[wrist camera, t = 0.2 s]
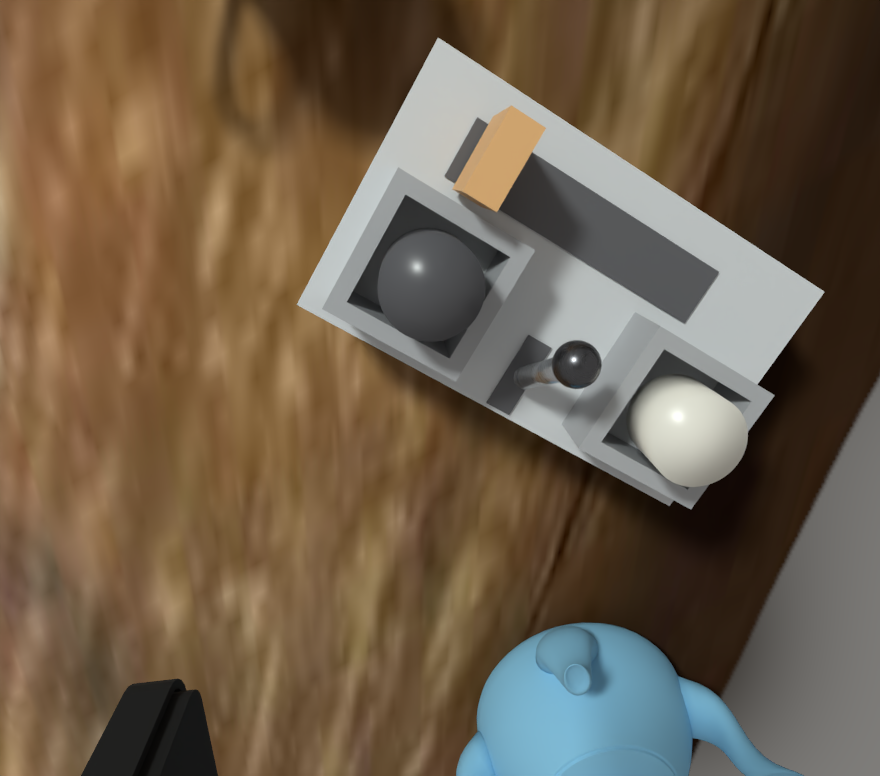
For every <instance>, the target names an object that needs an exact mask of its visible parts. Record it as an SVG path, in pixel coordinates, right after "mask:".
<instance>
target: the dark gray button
mask: <svg viewBox="0 0 880 776" xmlns="http://www.w3.org/2000/svg"><path fill="white" fill-rule="evenodd" d="M377 290H378V298H379V303H380V306H381V309H382V311H383V313H384V315H385V316H386V318H387V319H388V321H389V322H390V323H391V324H392V325H393V326H394V327H395V328H396V329H397V330H398V331H399V332H401V333H402V334H404V335H406V336H408V337H410V338H413V339H416V340H419V341H425V342H436V341H443V340H447V339H450V338H452V337H454V336H456V335H458V334H460V333H461V332H463V331H464V330H465V329H467V328H468V327H469V326H470V325H471V324H472V323H473V321H474V320H475V319H476V317H477V316H478V314H479V312H480V310H481V308H482V305H483V302H484V297H485V278H484V273H483V270H482V267H481V265H480V263H479V261H478V259H477V258H476V256H475V255H474V254H473V253H472V251H471V250H470V249H469V248H468V247H467V246H465V245H464V244H463V243H462V242H461V241H460V240H459V239H458V238H457V237H455V236H454V235H452V234H450V233H448V232H446V231H444V230H441V229H436V228H419V229H414V230H411V231H409V232H407V233H405V234H403V235H401V236H400V237H398V238H397V239H396V240H395V241H394V242H393V243H392V244H391V245H390V246H389V247H388V249H387V251H386V252H385V254H384V256H383V258H382V261H381V264H380V270H379V277H378V288H377Z"/></svg>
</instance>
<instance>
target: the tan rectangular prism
mask: <svg viewBox="0 0 880 776" xmlns="http://www.w3.org/2000/svg"><path fill="white" fill-rule="evenodd" d="M545 129H546V128H545V127H544V126H542V125H541V124H539V123H538V122H536V121H535V120H533V119H532V118H530V117H529V116H527V115H525V114H524V113H522V112H521V111H519V110H518V109H516V108H515V107H513V106H512V105H511V106H509V107H508V108H506V109H504V110H503V111H501V112H499V113H498V114H496V115H494V116H493V117H492V119H491V121H490V122H489V124H488V126H487V128H486V130H485V131H484V133H483V135H482V137H481V138H480V140H479V142H478V144H477V146H476V147H475V149H474V151H473V153H472V154H471V156H470V158H469V160H468V162H467V163H466V165H465V167H464V169H463V170H462V172H461V174H460V176H459V178H458V179H457V181H456V183H455V185H454V186H453V188H452V189H453V190H454V191H456V192H457V193H459V194H461V195H462V196H464V197H466V198H467V199H469V200H471V201H472V202H474V203H476V204H477V205H479V206H480V207H483V208H486V209H489V210H492V211H495V212H497V211H498V210H499V208H500V206H501V204H502V203H503V201H504V199H505V198H506V196H507V194H508V192H509V191H510V189H511V187H512V186H513V184H514V182H515V180H516V179H517V177H518V175H519V174H520V172H521V170H522V168H523V167H524V165H525V163H526V162H527V160H528V158H529V156H530V155H531V153H532V151H533V150H534V148H535V146H536V144H537V143H538V141H539V139H540V138H541V136H542V134H543V132H544V131H545Z"/></svg>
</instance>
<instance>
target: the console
mask: <svg viewBox="0 0 880 776" xmlns="http://www.w3.org/2000/svg"><path fill="white" fill-rule="evenodd" d="M511 105H512V106H513V107H515V108H516V109H518V110H519V111H521V112H522V113H524V114H525V115H527V116H529V117H530V118H532V119H533V120H535V121H536V122H538V123H539V124H541V125H542V126H544V127H545V128H546V129H545V131H544V132H543V134H542V136H541V138H540V139H539V141H538V143H537V144H536V146H535V148H534V150H533V151H532V153H531V155H530V156H529V158H528V160H527V162H526V163H525V165H524V167H523V168H522V170H521V172H520V174H519V175H518V177H517V179H516V180H515V182H514V184H513V186H512V187H511V189H510V191H509V192H508V194H507V196H506V198H505V199H504V201H503V203H502V204H501V206H500V208H499V210H498V211H497V212H495V211H492V210H489V209H486V208H483V207H480V206H479V205H477V204H476V203H474V202H472V201H471V200H469V199H467V198H466V197H464V196H462V195H461V194H459V193H457V192H456V191H454V190H453V189H452V188H453V186H454V185H455V183H456V181H457V179H458V178H459V176H460V174H461V172H462V170H463V169H464V167H465V165H466V163H467V162H468V160H469V158H470V156H471V154H472V153H473V151H474V149H475V147H476V146H477V144H478V142H479V140H480V138H481V137H482V135H483V133H484V131H485V130H486V128H487V126H488V124H489V122H490V121H491V119H492V117H493V116H494V115H496V114H498V113H499V112H501V111H503V110H504V109H506V108H508V107H509V106H511ZM419 228H436V229H441V230H444V231H446V232H448V233H450V234H452V235H454V236H455V237H457V238H458V239H459V240H460V241H461V242H462V243H463V244H464V245H465V246H467V247H468V248H469V249H470V250H471V251H472V253H473V254H474V255H475V256H476V258H477V259H478V261H479V263H480V265H481V267H482V270H483V273H484V278H485V297H484V302H483V305H482V308H481V310H480V312H479V314H478V316H477V317H476V319H475V320H474V321H473V323H472V324H471V325H470V326H469V327H468V328H467V329H465V330H464V331H463V332H461V333H460V334H458V335H456V336H454V337H452V338H450V339H447V340H443V341H436V342H425V341H419V340H416V339H413V338H410V337H408V336H406V335H404V334H402V333H401V332H399V331H398V330H397V329H396V328H395V327H394V326H393V325H392V324H391V323H390V322H389V321H388V319H387V318H386V316H385V315H384V313H383V311H382V309H381V306H380V303H379V298H378V290H377V288H378V277H379V270H380V264H381V261H382V258H383V256H384V254H385V252H386V251H387V249H388V247H389V246H390V245H391V244H392V243H393V242H394V241H395V240H396V239H397V238H398V237H400V236H401V235H403V234H405V233H407V232H409V231H411V230H414V229H419ZM823 293H824V291H822V290H821V289H819V288H818V287H816V286H815V285H813V284H812V283H810V282H809V281H807V280H806V279H804V278H802V277H801V276H799V275H798V274H796V273H795V272H793V271H792V270H790V269H789V268H787V267H786V266H784V265H783V264H781V263H780V262H778V261H777V260H775V259H774V258H772V257H771V256H769V255H768V254H766V253H765V252H763V251H762V250H760V249H758V248H757V247H755V246H754V245H752V244H751V243H749V242H748V241H746V240H745V239H743V238H742V237H740V236H739V235H737V234H736V233H734V232H733V231H731V230H730V229H728V228H727V227H725V226H724V225H722V224H721V223H719V222H717V221H716V220H714V219H713V218H711V217H710V216H708V215H707V214H705V213H704V212H702V211H701V210H699V209H698V208H696V207H695V206H693V205H692V204H690V203H689V202H687V201H686V200H684V199H683V198H681V197H680V196H678V195H677V194H675V193H673V192H672V191H670V190H669V189H667V188H666V187H664V186H663V185H661V184H660V183H658V182H657V181H655V180H654V179H652V178H651V177H649V176H648V175H646V174H645V173H643V172H642V171H640V170H639V169H637V168H636V167H634V166H632V165H631V164H629V163H628V162H626V161H625V160H623V159H622V158H620V157H619V156H617V155H616V154H614V153H613V152H611V151H610V150H608V149H607V148H605V147H604V146H602V145H601V144H599V143H598V142H596V141H595V140H593V139H591V138H590V137H588V136H587V135H585V134H584V133H582V132H581V131H579V130H578V129H576V128H575V127H573V126H572V125H570V124H569V123H567V122H566V121H564V120H563V119H561V118H560V117H558V116H557V115H555V114H554V113H552V112H551V111H549V110H547V109H546V108H544V107H543V106H541V105H540V104H538V103H537V102H535V101H534V100H532V99H531V98H529V97H528V96H526V95H525V94H523V93H522V92H520V91H519V90H517V89H516V88H514V87H513V86H511V85H510V84H508V83H506V82H505V81H503V80H502V79H500V78H499V77H497V76H496V75H494V74H493V73H491V72H490V71H488V70H487V69H485V68H484V67H482V66H481V65H479V64H478V63H476V62H475V61H473V60H472V59H470V58H469V57H467V56H466V55H464V54H462V53H461V52H459V51H458V50H456V49H455V48H453V47H452V46H450V45H449V44H447V43H446V42H444V41H443V40H441V39H440V38H438V39H437V40H436V42H435V44H434V46H433V48H432V50H431V52H430V54H429V56H428V58H427V59H426V61H425V63H424V65H423V67H422V69H421V71H420V73H419V75H418V76H417V78H416V80H415V82H414V84H413V86H412V88H411V90H410V92H409V93H408V95H407V97H406V99H405V101H404V103H403V105H402V107H401V109H400V110H399V112H398V114H397V116H396V118H395V120H394V122H393V124H392V126H391V128H390V129H389V131H388V133H387V135H386V137H385V139H384V141H383V143H382V145H381V146H380V148H379V150H378V152H377V154H376V156H375V158H374V160H373V162H372V163H371V165H370V167H369V169H368V171H367V173H366V175H365V177H364V179H363V180H362V182H361V184H360V186H359V188H358V190H357V192H356V194H355V196H354V198H353V199H352V201H351V203H350V205H349V207H348V209H347V211H346V213H345V215H344V216H343V218H342V220H341V222H340V224H339V226H338V228H337V230H336V232H335V233H334V235H333V237H332V239H331V241H330V243H329V245H328V247H327V249H326V251H325V252H324V254H323V256H322V258H321V260H320V262H319V264H318V266H317V268H316V269H315V271H314V273H313V275H312V277H311V279H310V281H309V283H308V285H307V286H306V288H305V290H304V292H303V294H302V296H301V298H300V300H299V302H298V303H297V305H298V306H300V307H302V308H304V309H306V310H307V311H309V312H311V313H313V314H315V315H317V316H318V317H320V318H322V319H324V320H326V321H328V322H330V323H331V324H333V325H335V326H337V327H339V328H341V329H343V330H344V331H346V332H348V333H350V334H352V335H354V336H355V337H357V338H359V339H361V340H363V341H365V342H367V343H368V344H370V345H372V346H374V347H376V348H378V349H380V350H381V351H383V352H385V353H387V354H389V355H391V356H392V357H394V358H396V359H398V360H400V361H402V362H404V363H405V364H407V365H409V366H411V367H413V368H415V369H417V370H418V371H420V372H422V373H424V374H426V375H428V376H429V377H431V378H433V379H435V380H437V381H439V382H441V383H442V384H444V385H446V386H448V387H450V388H452V389H454V390H455V391H457V392H459V393H461V394H463V395H465V396H466V397H468V398H470V399H472V400H474V401H476V402H478V403H479V404H481V405H483V406H485V407H487V408H489V409H491V410H492V411H494V412H496V413H498V414H500V415H502V416H504V417H505V418H507V419H509V420H511V421H513V422H515V423H516V424H518V425H520V426H522V427H524V428H526V429H528V430H529V431H531V432H533V433H535V434H537V435H539V436H541V437H542V438H544V439H546V440H548V441H550V442H552V443H553V444H555V445H557V446H559V447H561V448H563V449H565V450H566V451H568V452H570V453H572V454H574V455H576V456H578V457H579V458H581V459H583V460H585V461H587V462H589V463H590V464H592V465H594V466H596V467H598V468H600V469H602V470H603V471H605V472H607V473H609V474H611V475H613V476H615V477H616V478H618V479H620V480H622V481H624V482H626V483H627V484H629V485H631V486H633V487H635V488H637V489H639V490H640V491H642V492H644V493H646V494H648V495H650V496H652V497H653V498H655V499H657V500H659V501H661V502H663V503H664V504H666V505H668V506H670V505H671V503H672V502H673V501H676V502H678V503H680V504H682V505H683V506H685V507H687V508H689V509H692V507H693V506H694V505H695V503H696V502H697V501H698V499H699V498H700V497H701V495H702V494H703V492H704V491H705V490H706V488H707V487H708V486H709V485H705V486H700V487H686V486H681V485H678V484H675V483H673V482H671V481H670V480H668V479H667V478H665V477H664V476H663V475H662V474H661V473H660V472H659V470H658V469H657V468H656V467H655V466H654V465H653V464H652V463H651V462H650V461H649V459H648V458H647V457H646V456H645V455H644V454H643V453H642V452H641V451H640V450H639V448H638V447H637V446H636V445H635V444H634V443H633V441H632V440H631V438H630V436H629V433H628V430H627V424H626V417H627V411H628V408H629V405H630V403H631V400H632V399H633V397H634V396H635V394H636V393H637V392H638V391H639V389H640V388H641V387H643V386H644V385H645V384H646V383H648V382H649V381H651V380H653V379H655V378H657V377H660V376H663V375H667V374H683V375H687V376H690V377H693V378H695V379H696V380H698V381H699V382H701V383H702V384H704V385H705V386H707V387H708V388H710V389H711V390H713V391H714V392H716V393H717V394H719V395H720V396H722V397H723V398H725V399H726V400H728V401H729V402H731V403H732V404H734V405H735V406H736V407H737V408H738V409H739V410H740V412H741V413H742V415H743V417H744V418H745V421H746V424H747V429H748V431H749V430H750V428H751V427H752V426H753V424H754V423H755V422H756V420H757V419H758V417H759V416H760V415H761V413H762V412H763V411H764V409H765V408H766V407H767V405H768V404H769V402H770V401H771V400H772V398H773V397H774V396H775V395H773V394H772V393H770V392H768V391H767V390H765V389H763V388H762V387H760V386H759V385H757V384H758V383H759V382H760V380H761V379H762V378H763V376H764V375H765V373H766V372H767V371H768V369H769V368H770V366H771V365H772V364H773V362H774V361H775V360H776V358H777V357H778V355H779V354H780V353H781V351H782V350H783V349H784V347H785V346H786V344H787V343H788V342H789V340H790V339H791V337H792V336H793V335H794V333H795V332H796V331H797V329H798V328H799V326H800V325H801V324H802V322H803V321H804V319H805V318H806V317H807V315H808V314H809V313H810V311H811V310H812V308H813V307H814V306H815V304H816V303H817V302H818V300H819V299H820V297H821V296H822V295H823ZM572 340H582V341H585V342H588V343H590V344H591V345H593V346H594V347H595V348H596V349H597V351H598V352H599V354H600V357H601V361H602V368H601V372H600V375H599V377H598V378H597V379H596V381H595V382H594V383H592V384H591V385H590V386H588V387H585V388H582V389H571V388H568V387H565V386H564V385H562V384H561V383H560V382H558V383H553V384H549V385H544V386H540V387H535V388H530V389H521V388H519V387H518V386H517V385H516V384H515V382H514V374H515V372H516V370H517V369H519V368H520V367H523V366H526V365H530V364H533V363H536V362H539V361H543V360H546V359H549V358H553V356H554V354H555V352H556V350H557V349H558V348H559V347H560V346H561V345H562V344H564V343H566V342H568V341H572Z"/></svg>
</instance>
